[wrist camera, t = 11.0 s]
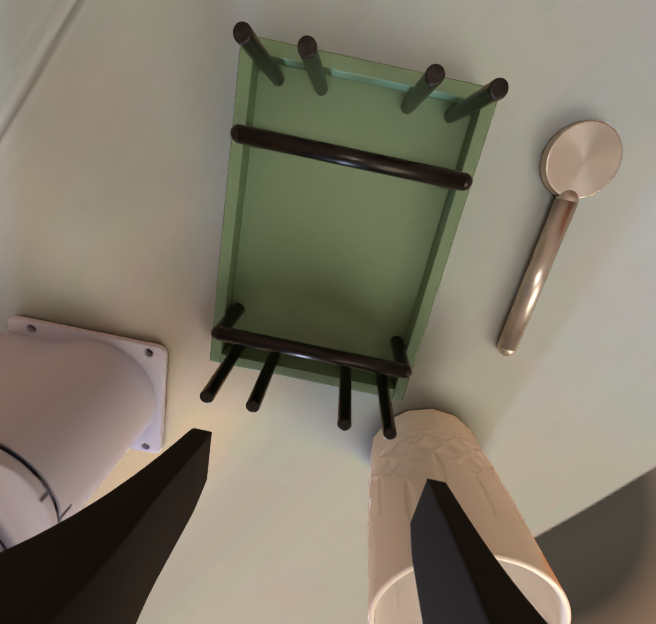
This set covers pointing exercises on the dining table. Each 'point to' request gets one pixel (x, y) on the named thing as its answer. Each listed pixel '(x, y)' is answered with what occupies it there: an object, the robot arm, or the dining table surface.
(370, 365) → the dish rack
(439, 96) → the drip tray
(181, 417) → the dining table surface
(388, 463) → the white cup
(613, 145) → the round metal paddle
